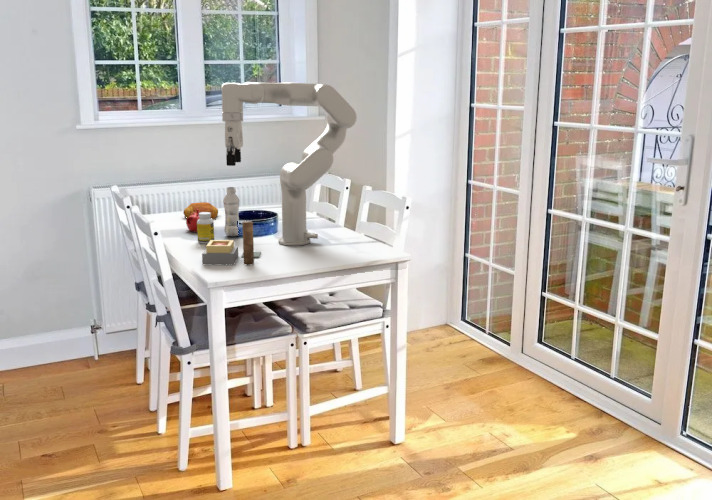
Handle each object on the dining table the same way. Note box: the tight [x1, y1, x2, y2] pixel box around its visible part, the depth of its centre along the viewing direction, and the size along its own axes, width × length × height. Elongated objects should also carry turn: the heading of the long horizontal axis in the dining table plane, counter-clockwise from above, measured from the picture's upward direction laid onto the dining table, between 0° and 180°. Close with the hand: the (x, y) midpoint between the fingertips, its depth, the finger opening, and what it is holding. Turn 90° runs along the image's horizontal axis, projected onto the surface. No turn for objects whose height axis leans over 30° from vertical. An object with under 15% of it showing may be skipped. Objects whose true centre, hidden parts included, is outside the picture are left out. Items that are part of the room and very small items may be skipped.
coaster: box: [240, 251, 262, 259], centre depth 261 cm, size 6×6×1 cm
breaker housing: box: [201, 239, 239, 266], centre depth 253 cm, size 11×11×6 cm
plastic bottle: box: [222, 186, 240, 237], centre depth 288 cm, size 6×7×20 cm
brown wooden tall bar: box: [241, 220, 255, 266], centre depth 249 cm, size 4×4×15 cm
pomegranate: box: [185, 209, 200, 233], centre depth 299 cm, size 10×10×9 cm
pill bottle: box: [196, 212, 215, 244], centre depth 279 cm, size 6×6×12 cm
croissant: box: [182, 201, 219, 219], centre depth 324 cm, size 14×16×8 cm
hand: (233, 163), depth 264 cm, fingers open, 9 cm apart
